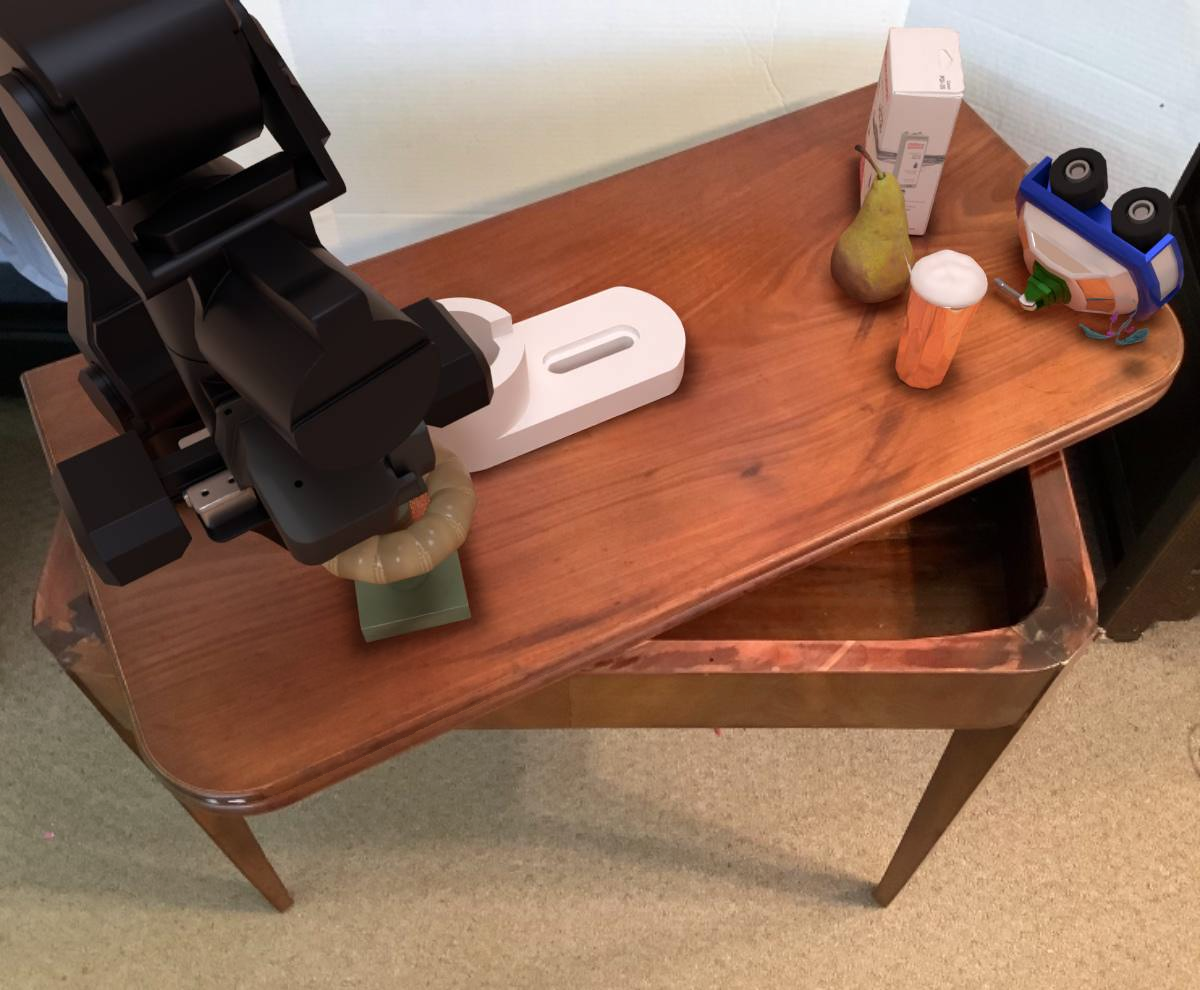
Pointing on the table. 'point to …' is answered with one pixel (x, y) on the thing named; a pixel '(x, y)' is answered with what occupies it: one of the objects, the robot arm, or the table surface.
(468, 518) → the segmented ring
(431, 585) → the stand
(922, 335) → the beer glass
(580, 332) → the bracket
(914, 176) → the ink box
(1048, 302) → the toy car
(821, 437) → the table surface
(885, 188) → the fruit
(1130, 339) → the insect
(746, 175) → the table surface
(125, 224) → the robot arm
